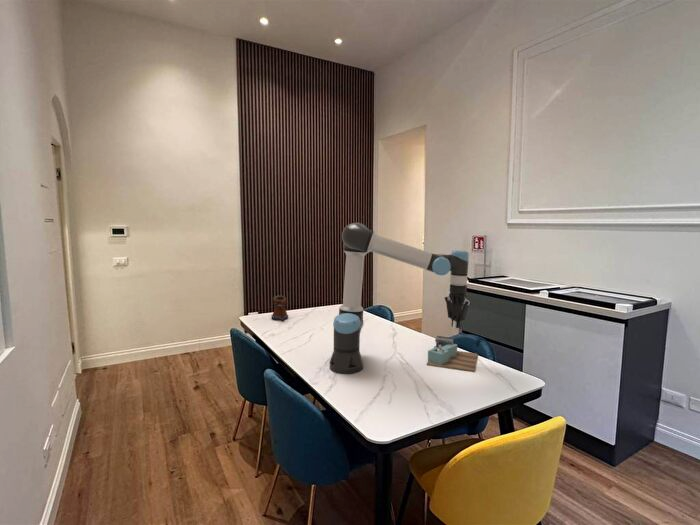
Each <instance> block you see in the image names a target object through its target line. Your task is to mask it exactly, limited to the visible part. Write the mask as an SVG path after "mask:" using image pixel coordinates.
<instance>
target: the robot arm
mask: <svg viewBox="0 0 700 525" xmlns="http://www.w3.org/2000/svg"><path fill="white" fill-rule="evenodd" d="M341 239H342V243H343V252H344V253H345V266H344V267H345V268H344V269H345V270H344V282H343V284H344V285H343V298H342V305H340V306H339V308H338V314H337V315H336V316H334V318H333V324H332V325H333V351H332V355H331V358H330V360H329V369H330V371H332V372H333V373H334V372H335V373H338V374H346V375H347V374H356V373H359V372H361V371H363V369H364V361H363V357H362V355H361V350H360V340H361V339H360V338H361V337H360V335H361V332H362V329H363V326H364V308H363V306H362V305H361V304H362V290H363V277H364V269H365V268H364V267H365V265H364V264H365V256H366V255H367V254H368V253H370V252H371V253H374V254H378V255H381V256H384V257H387V258H389V259H392V260H395V261H398V262H402V263H405V264H408V265H410V266H415V267H416V268H420V269H423V270H426V271H428V272H431V273H434V274H435V275H438V276H445V275H447V274H448V273H449V272H450V275H449V276H450V277H449V278H450V279H449V283H450V284H449V294H448V296H445V297H444V301H445V303H446V312H447V316H448V317H447V318H449V319H451V327H452V331H451V335H454V336H457V335H459V332H460V331H459V329H460V328H461V322H462V321H464V320H465V319H466V316H467V312H468V309H469V306H470V305H471V304H472V301H470V300H468V299H467V296H466V295H467V291H468V290H467V289H468V285H467V284H468V275H469V274H468V272H469V271H468V270H469V262H470V261H469V252H468V251H466V250H456V249H455V250H451V254H444V253H443V254H439V253H438V254H437V253H432V252H429V251H425V250H423V249H420V248H418V247H414V246H412V245H408V244H405V243H403V242H402V243H401V242H399V241H396V240H393V239H390V238H387V237H385V236H381V235H378V234H377V233H376V231H373V230H371V229H369V228H368V227H367V225H366V224H364V223H361V222H353V223H352V222H351V223H349V224H347V225H346V226H345V227H344V228H343V230H342V232H341Z"/></svg>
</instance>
